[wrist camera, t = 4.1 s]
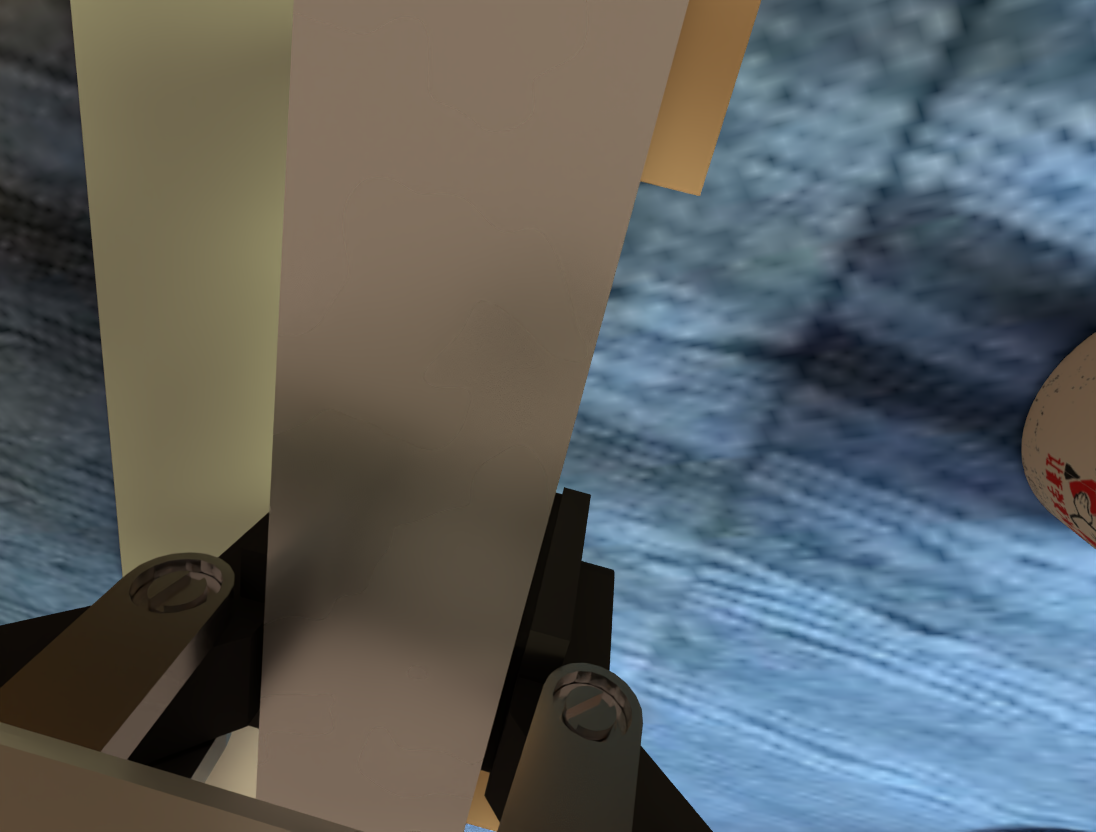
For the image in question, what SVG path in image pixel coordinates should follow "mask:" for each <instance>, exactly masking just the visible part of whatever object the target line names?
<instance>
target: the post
mask: <svg viewBox="0 0 1096 832" xmlns="http://www.w3.org/2000/svg"><path fill="white" fill-rule="evenodd" d="M760 2H761V0H689V3H688V6H687V10H686V14H685V17H684V21H683V25H682V29H681V32H680V36H679V40H678V43H677V47H676V51H675V54H674V58H673V62H672V65H671V69H670V73H669V76H668V80H667V84H666V88H665V91H664V95H663V99H662V102H661V106H660V110H659V113H658V117H657V121H656V124H655V128H654V132H653V135H652V139H651V143H650V147H649V150H648V154H647V158H646V161H645V165H644V169H643V172H642V176H641V180H640V181H642V182H646V183H650V184H654V185H658V186H662V187H666V188H670V189H674V190H678V191H682V192H686V193H690V194H694V195H698V196H700V193H701V190H702V187H703V184H704V181H705V178H706V174H707V171H708V168H709V165H710V162H711V158H712V155H713V152H714V149H715V146H716V142H717V139H718V136H719V133H720V130H721V127H722V123H723V120H724V117H725V114H726V111H727V107H728V104H729V101H730V98H731V95H732V92H733V88H734V85H735V82H736V79H737V76H738V72H739V69H740V66H741V63H742V60H743V56H744V53H745V50H746V47H747V44H748V41H749V37H750V34H751V31H752V28H753V25H754V21H755V18H756V15H757V12H758V9H759V5H760Z"/></svg>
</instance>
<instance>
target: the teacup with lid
mask: <svg viewBox="0 0 1096 832" xmlns="http://www.w3.org/2000/svg"><path fill="white" fill-rule="evenodd" d="M1021 453H1022V463H1023V467H1024V472H1025V475H1026V478H1027V481H1028V483H1029V485H1030V487H1031V489H1032V491H1033V493H1034V494H1035V496H1036V497H1037V499H1038V500H1039V501H1040V503H1041V504H1042V505H1043V506H1044V507H1045V508H1046V509H1047V510H1048V511H1049V512H1050V513H1051V514H1052V515H1054V516H1055V517H1056V518H1057V519H1059V520H1060V521H1061V522H1062V523H1064V524H1065V525H1066V526H1067V527H1069V528H1070V529H1071V530H1072V531H1074V532H1075V533H1076V534H1077V535H1079V536H1080V537H1081V538H1082V539H1084V540H1085V541H1086V542H1087V543H1089V544H1090V545H1091V546H1092V547H1094V548H1095V549H1096V332H1095V333H1094V334H1092V335H1091V336H1089V337H1088V338H1087V339H1086V340H1084V341H1083V342H1082V343H1081V344H1080V345H1078V346H1077V347H1076V348H1075V349H1074V350H1073V351H1072V352H1071V353H1070V354H1069V355H1067V356H1066V357H1065V358H1064V359H1063V360H1062V362H1061V363H1060V364H1059V365H1058V366H1057V367H1056V368H1055V369H1054V371H1053V372H1052V373H1051V375H1050V376H1049V377H1048V378H1047V380H1046V381H1045V383H1044V384H1043V386H1042V387H1041V389H1040V390H1039V392H1038V394H1037V396H1036V398H1035V400H1034V401H1033V403H1032V405H1031V408H1030V410H1029V413H1028V416H1027V418H1026V422H1025V426H1024V430H1023V436H1022V448H1021Z"/></svg>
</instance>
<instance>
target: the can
mask: <svg viewBox="0 0 1096 832" xmlns="http://www.w3.org/2000/svg"><path fill="white" fill-rule="evenodd" d="M258 740H259V729H258V728H254V727H251V726H247V727H244V728H242V729H239V730H236V731H233V732H231V736H230V739H229V741H228V744H227V746H226V748H225V750H224V751H223V753H222V755H221V756H220V758H219V760H218V761H217V763H216V765H215V766H214V768H213V770H212V771H211V773H210V775H209V776H208V778H207V780H206V781H205V783H206V784H209V785H212V786H216V787H219V788H222V789H225V790H229V791H232V792H235V793H239V794H242V795H245V796H249V797H252V798H255V799H256V782H257V761H258Z"/></svg>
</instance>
